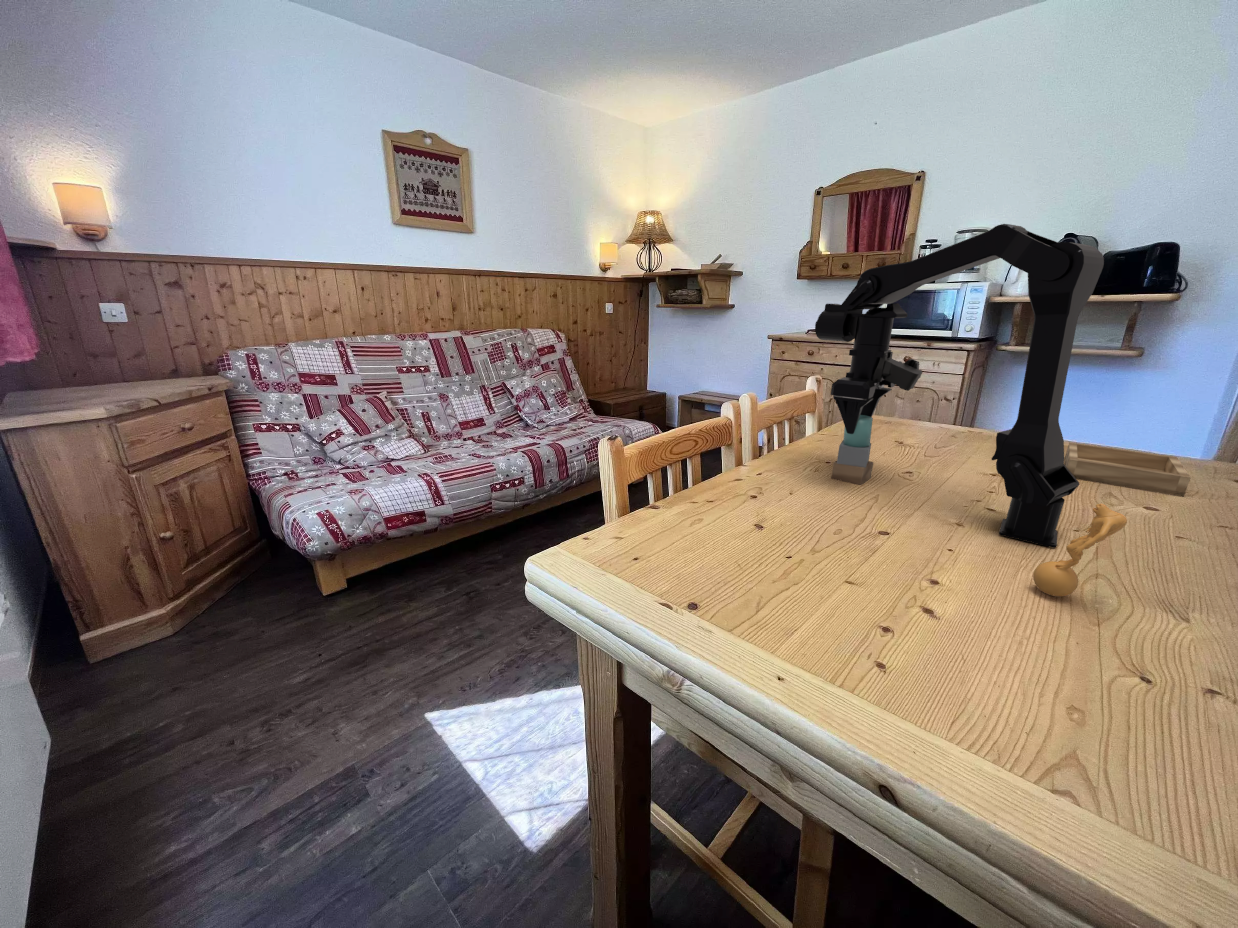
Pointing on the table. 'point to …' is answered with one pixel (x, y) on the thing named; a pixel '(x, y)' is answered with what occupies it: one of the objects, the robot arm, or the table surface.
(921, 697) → the table surface
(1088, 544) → the figurine
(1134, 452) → the tray
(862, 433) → the teal cylinder
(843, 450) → the block upper
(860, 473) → the block lower
